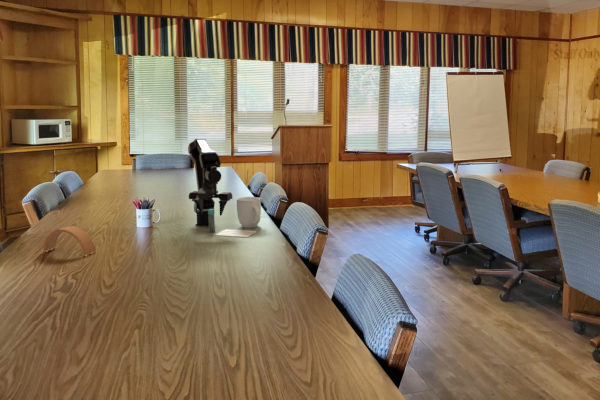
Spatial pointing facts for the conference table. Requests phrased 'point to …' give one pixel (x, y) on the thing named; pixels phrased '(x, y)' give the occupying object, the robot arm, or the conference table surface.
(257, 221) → the mug
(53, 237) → the arch
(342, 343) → the conference table surface
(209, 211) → the marker
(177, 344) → the conference table surface
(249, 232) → the paper
